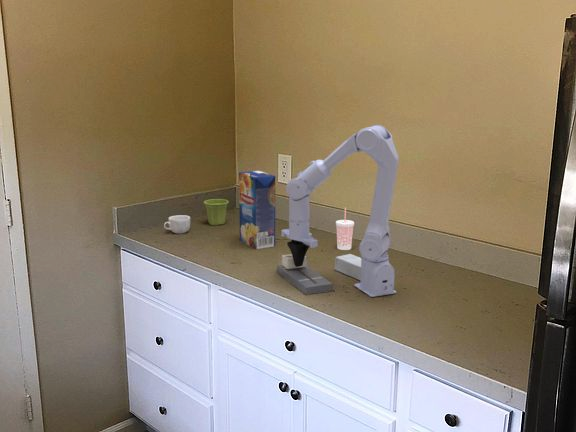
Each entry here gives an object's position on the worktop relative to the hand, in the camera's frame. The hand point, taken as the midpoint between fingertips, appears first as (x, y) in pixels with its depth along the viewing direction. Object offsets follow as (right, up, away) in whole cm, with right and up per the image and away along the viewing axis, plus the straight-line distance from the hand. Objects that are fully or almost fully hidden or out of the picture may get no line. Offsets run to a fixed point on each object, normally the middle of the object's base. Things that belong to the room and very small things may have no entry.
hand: (298, 265), depth 175 cm
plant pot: (-30, +11, +60) cm, 68 cm away
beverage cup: (+16, +3, +29) cm, 33 cm away
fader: (-1, 0, +3) cm, 3 cm away
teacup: (-43, +8, +47) cm, 64 cm away
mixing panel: (+1, -4, -2) cm, 5 cm away
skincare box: (+13, +1, +8) cm, 16 cm away
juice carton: (-13, +5, +34) cm, 37 cm away
